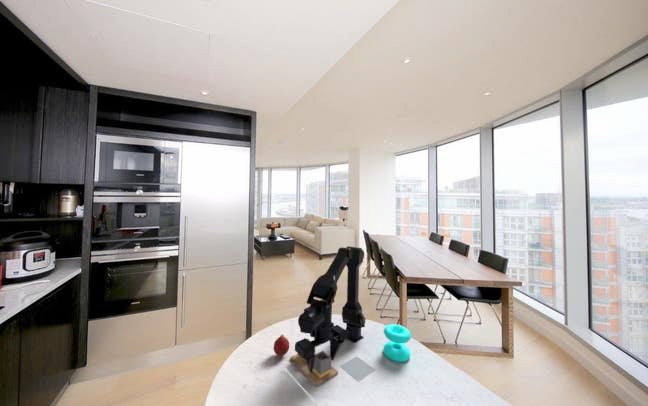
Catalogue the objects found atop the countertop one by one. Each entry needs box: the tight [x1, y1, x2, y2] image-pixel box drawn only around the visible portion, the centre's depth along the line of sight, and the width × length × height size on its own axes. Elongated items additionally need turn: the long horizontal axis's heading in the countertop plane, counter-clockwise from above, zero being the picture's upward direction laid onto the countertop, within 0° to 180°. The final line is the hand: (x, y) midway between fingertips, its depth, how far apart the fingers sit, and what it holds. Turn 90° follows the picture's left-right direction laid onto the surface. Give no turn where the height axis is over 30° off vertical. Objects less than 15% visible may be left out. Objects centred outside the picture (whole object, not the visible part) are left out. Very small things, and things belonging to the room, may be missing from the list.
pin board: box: [289, 338, 339, 388], centre depth 81 cm, size 9×16×6 cm, turn 40°
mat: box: [339, 355, 376, 383], centre depth 81 cm, size 9×9×1 cm
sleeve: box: [312, 350, 332, 378], centre depth 78 cm, size 4×4×5 cm
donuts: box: [382, 323, 412, 363], centre depth 90 cm, size 10×10×10 cm
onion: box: [273, 333, 290, 357], centre depth 87 cm, size 6×6×8 cm
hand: (321, 365), depth 78 cm, fingers open, 9 cm apart
